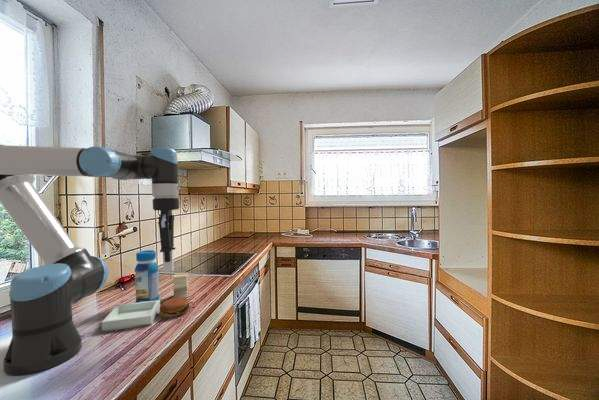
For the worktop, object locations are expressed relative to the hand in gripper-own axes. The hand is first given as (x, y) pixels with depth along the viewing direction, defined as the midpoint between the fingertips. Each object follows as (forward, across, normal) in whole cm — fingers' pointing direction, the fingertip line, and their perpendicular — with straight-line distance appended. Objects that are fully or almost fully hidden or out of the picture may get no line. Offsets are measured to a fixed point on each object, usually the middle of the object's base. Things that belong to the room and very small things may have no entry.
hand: (168, 271), depth 88 cm
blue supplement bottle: (+18, +25, +12) cm, 33 cm away
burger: (+18, +11, 0) cm, 21 cm away
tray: (+18, +10, +13) cm, 24 cm away
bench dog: (+18, +28, 0) cm, 33 cm away
